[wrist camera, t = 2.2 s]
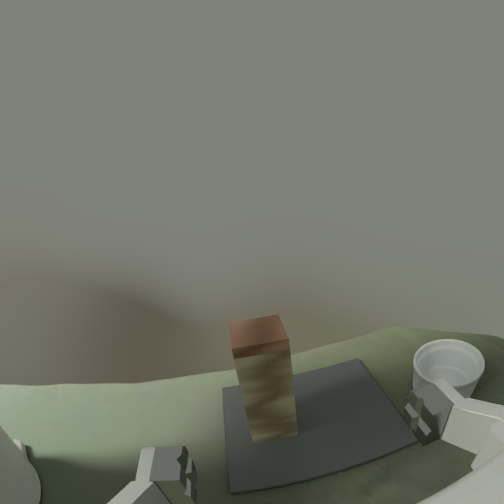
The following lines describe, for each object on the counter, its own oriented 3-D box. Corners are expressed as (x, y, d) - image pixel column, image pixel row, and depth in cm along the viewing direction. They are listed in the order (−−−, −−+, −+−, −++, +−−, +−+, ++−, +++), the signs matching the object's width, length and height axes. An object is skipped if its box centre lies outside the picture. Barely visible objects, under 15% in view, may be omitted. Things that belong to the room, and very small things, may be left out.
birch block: (253, 443, 26) (231, 348, 23) (248, 415, 30) (229, 323, 27) (297, 435, 26) (288, 338, 23) (288, 407, 31) (277, 314, 28)
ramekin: (487, 400, 23) (498, 371, 22) (422, 423, 24) (431, 394, 23) (457, 360, 31) (462, 332, 30) (398, 375, 32) (402, 347, 31)
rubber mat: (230, 494, 20) (230, 492, 20) (222, 390, 36) (222, 387, 36) (417, 441, 22) (418, 439, 22) (358, 360, 37) (358, 358, 37)
